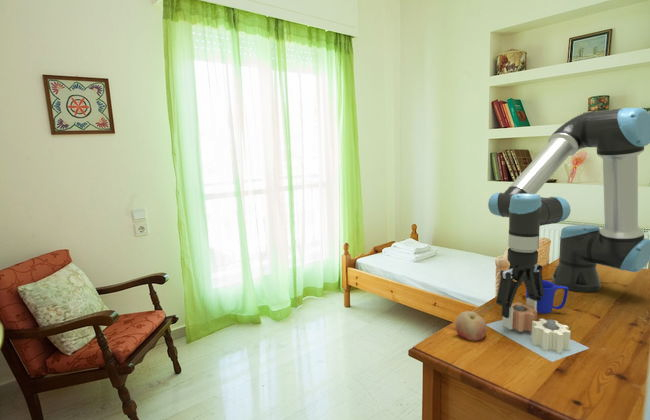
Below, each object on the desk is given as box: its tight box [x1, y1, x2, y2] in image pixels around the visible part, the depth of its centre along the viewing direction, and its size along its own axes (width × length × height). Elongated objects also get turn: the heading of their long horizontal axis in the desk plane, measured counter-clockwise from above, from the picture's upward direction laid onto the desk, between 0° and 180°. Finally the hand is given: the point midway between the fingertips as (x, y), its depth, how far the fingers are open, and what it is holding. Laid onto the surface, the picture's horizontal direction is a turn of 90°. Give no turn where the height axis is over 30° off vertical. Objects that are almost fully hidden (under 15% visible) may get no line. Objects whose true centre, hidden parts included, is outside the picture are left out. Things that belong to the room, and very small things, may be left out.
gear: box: [531, 318, 571, 353], centre depth 94 cm, size 9×9×5 cm
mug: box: [525, 279, 569, 314], centre depth 114 cm, size 8×12×10 cm
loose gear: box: [501, 301, 538, 332], centre depth 103 cm, size 9×9×5 cm
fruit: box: [454, 310, 488, 342], centre depth 101 cm, size 8×8×8 cm
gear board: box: [486, 306, 590, 363], centre depth 99 cm, size 14×21×8 cm, turn 21°
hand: (519, 323), depth 103 cm, fingers closed on loose gear, 8 cm apart
